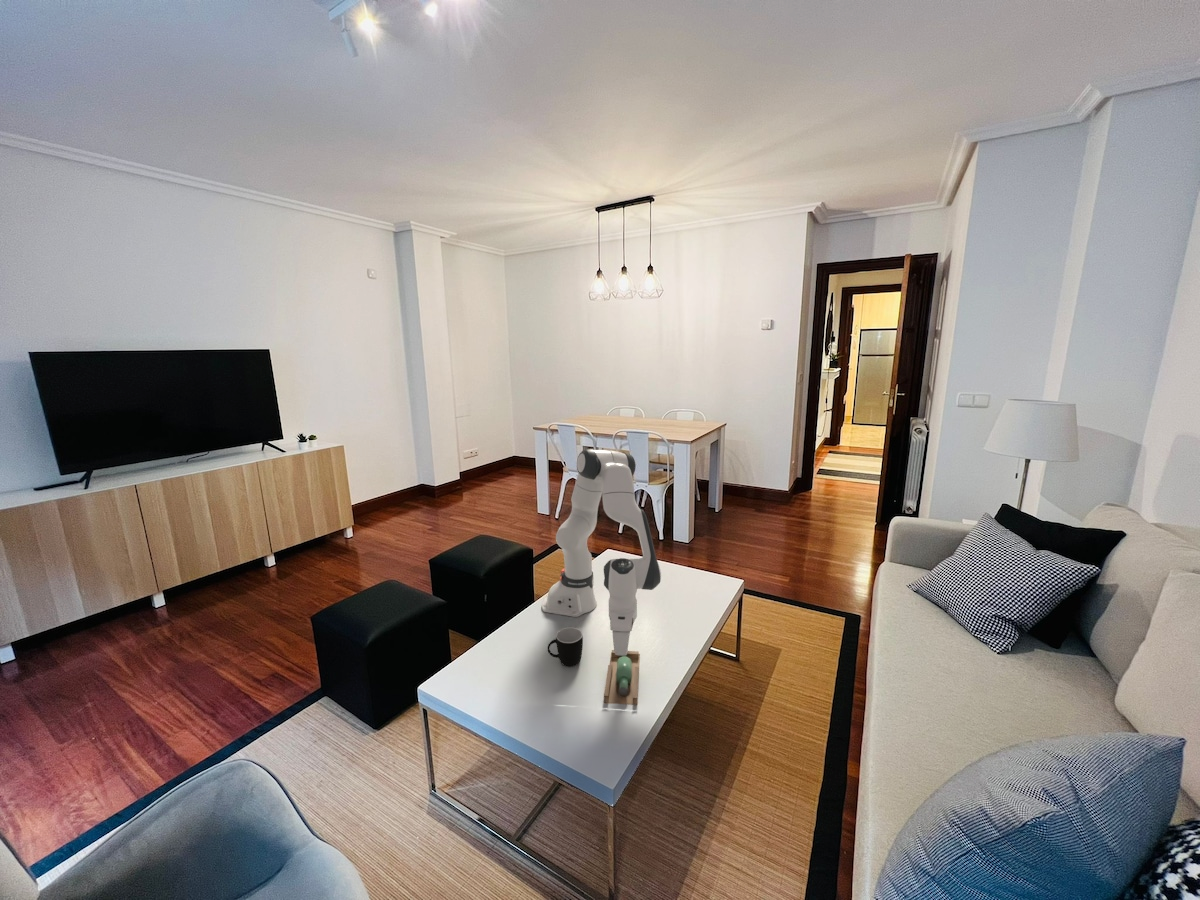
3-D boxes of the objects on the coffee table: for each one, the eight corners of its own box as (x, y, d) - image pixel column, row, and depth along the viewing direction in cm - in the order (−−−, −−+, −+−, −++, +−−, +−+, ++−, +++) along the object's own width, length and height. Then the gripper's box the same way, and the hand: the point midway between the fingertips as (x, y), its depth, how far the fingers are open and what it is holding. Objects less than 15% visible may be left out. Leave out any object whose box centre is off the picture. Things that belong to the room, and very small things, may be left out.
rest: (603, 703, 144) (603, 695, 144) (611, 652, 167) (611, 646, 167) (637, 705, 143) (637, 697, 142) (639, 654, 166) (640, 647, 166)
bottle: (616, 668, 159) (615, 698, 146) (617, 655, 158) (615, 684, 144) (631, 669, 159) (630, 699, 145) (632, 656, 157) (631, 686, 144)
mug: (582, 651, 168) (581, 626, 166) (584, 668, 160) (583, 642, 157) (548, 654, 167) (547, 628, 165) (548, 671, 159) (546, 644, 156)
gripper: (615, 593, 160) (615, 630, 163) (609, 629, 141) (610, 670, 144) (634, 594, 160) (634, 631, 163) (631, 630, 140) (631, 671, 143)
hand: (623, 649), depth 153 cm, fingers closed
